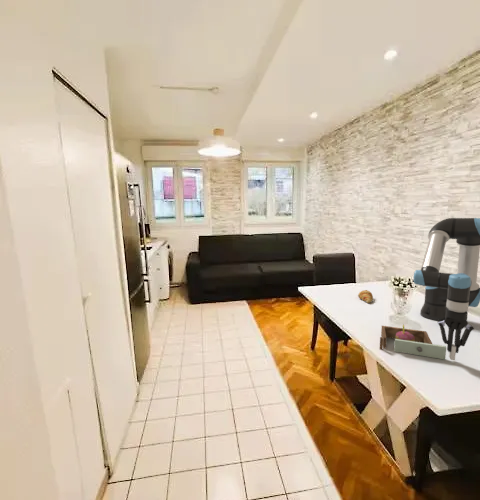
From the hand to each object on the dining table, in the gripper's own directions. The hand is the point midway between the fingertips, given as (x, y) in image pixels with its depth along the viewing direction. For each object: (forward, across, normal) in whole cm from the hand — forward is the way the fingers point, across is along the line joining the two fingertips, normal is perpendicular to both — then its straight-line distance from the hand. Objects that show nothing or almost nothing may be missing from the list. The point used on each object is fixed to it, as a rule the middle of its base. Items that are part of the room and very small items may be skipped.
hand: (451, 358), depth 122 cm
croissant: (+2, +34, -77) cm, 84 cm away
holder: (+1, +18, -8) cm, 20 cm away
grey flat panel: (+1, +13, 0) cm, 13 cm away
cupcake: (+2, +17, -9) cm, 20 cm away
